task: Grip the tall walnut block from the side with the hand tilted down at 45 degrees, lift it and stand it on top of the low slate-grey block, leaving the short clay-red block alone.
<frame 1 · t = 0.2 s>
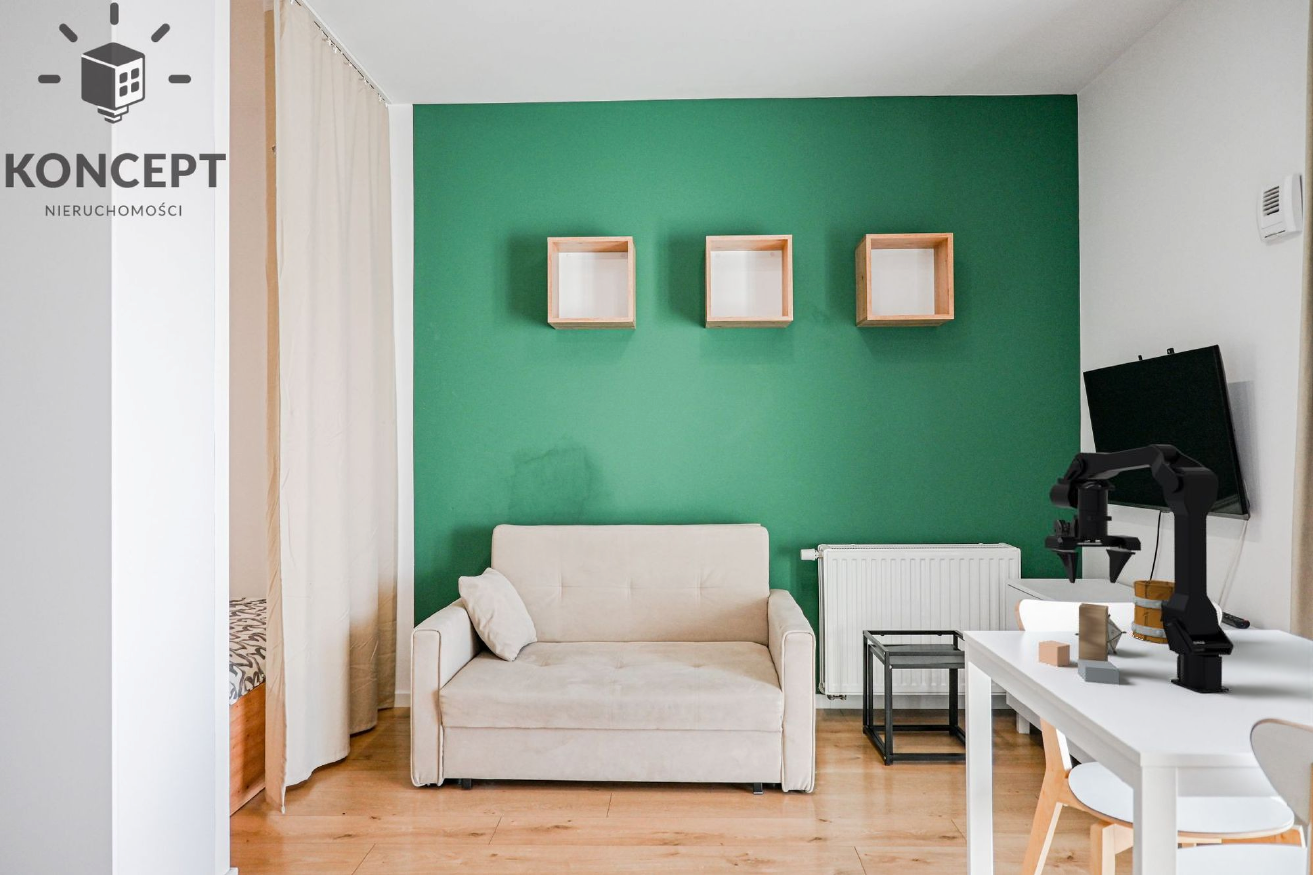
hand: (1092, 582, 170), 14 cm above the table, tool pointing down, fingers open, 9 cm apart
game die: (1100, 653, 167), on the table
walnut block: (1093, 670, 152), on the table
clay block: (1054, 663, 158), on the table
mug: (1169, 640, 180), on the table
slate block: (1097, 680, 147), on the table
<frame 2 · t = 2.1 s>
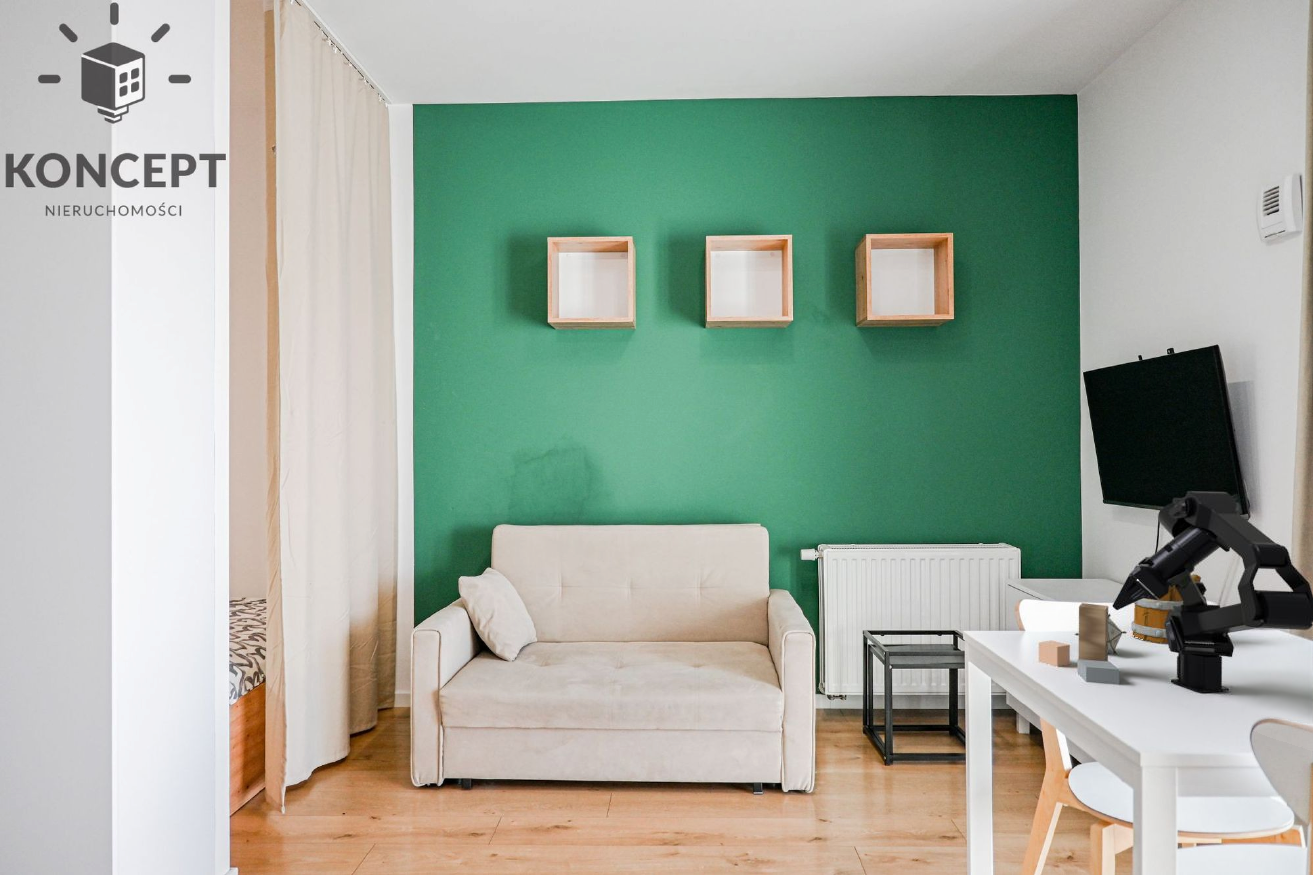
hand: (1116, 604, 151), 13 cm above the table, tool tilted 45°, fingers open, 9 cm apart
nothing on the table moved.
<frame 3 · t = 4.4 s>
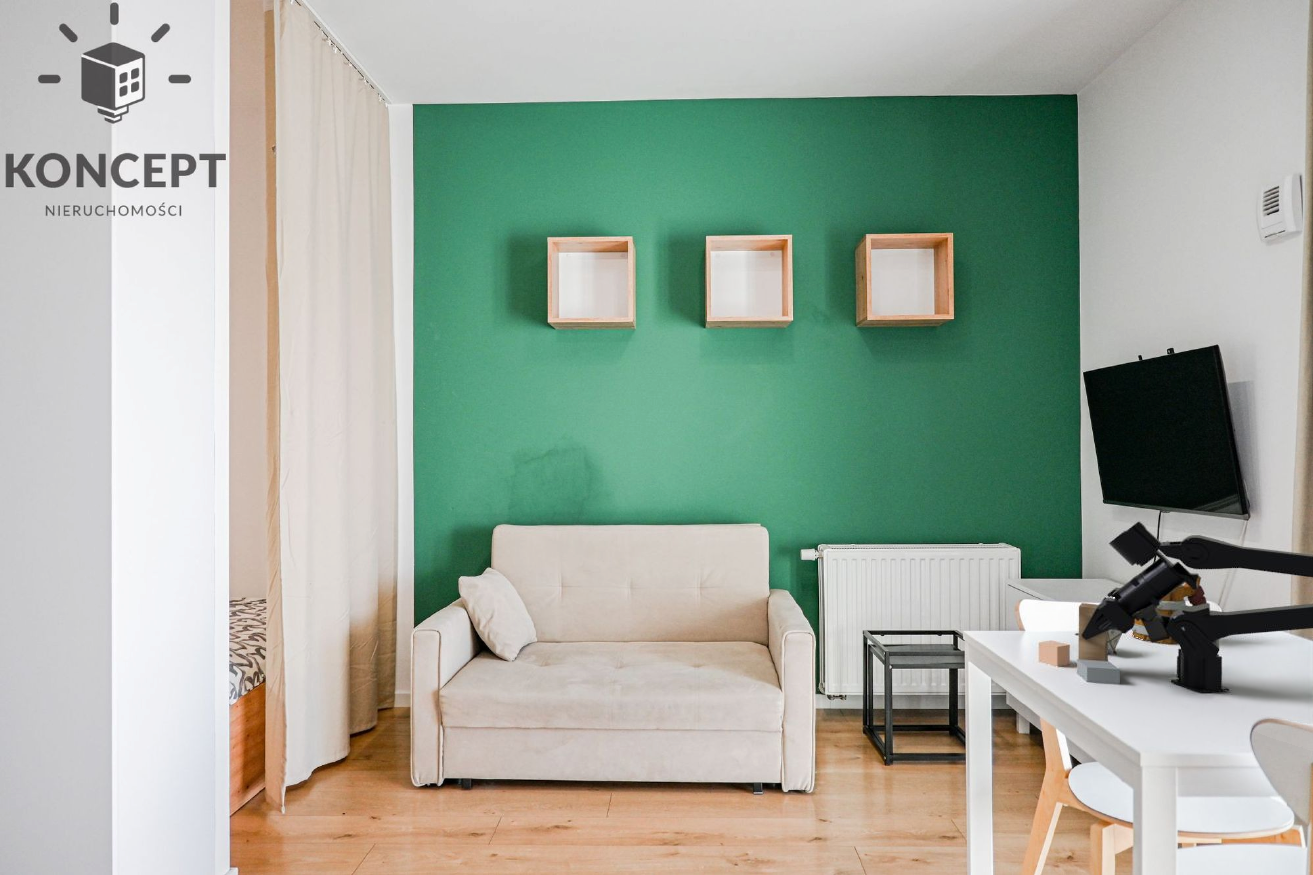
hand: (1085, 635, 153), 7 cm above the table, tool tilted 45°, fingers closed on walnut block, 4 cm apart
walnut block: (1093, 670, 152), on the table, touching gripper
everything else where it was.
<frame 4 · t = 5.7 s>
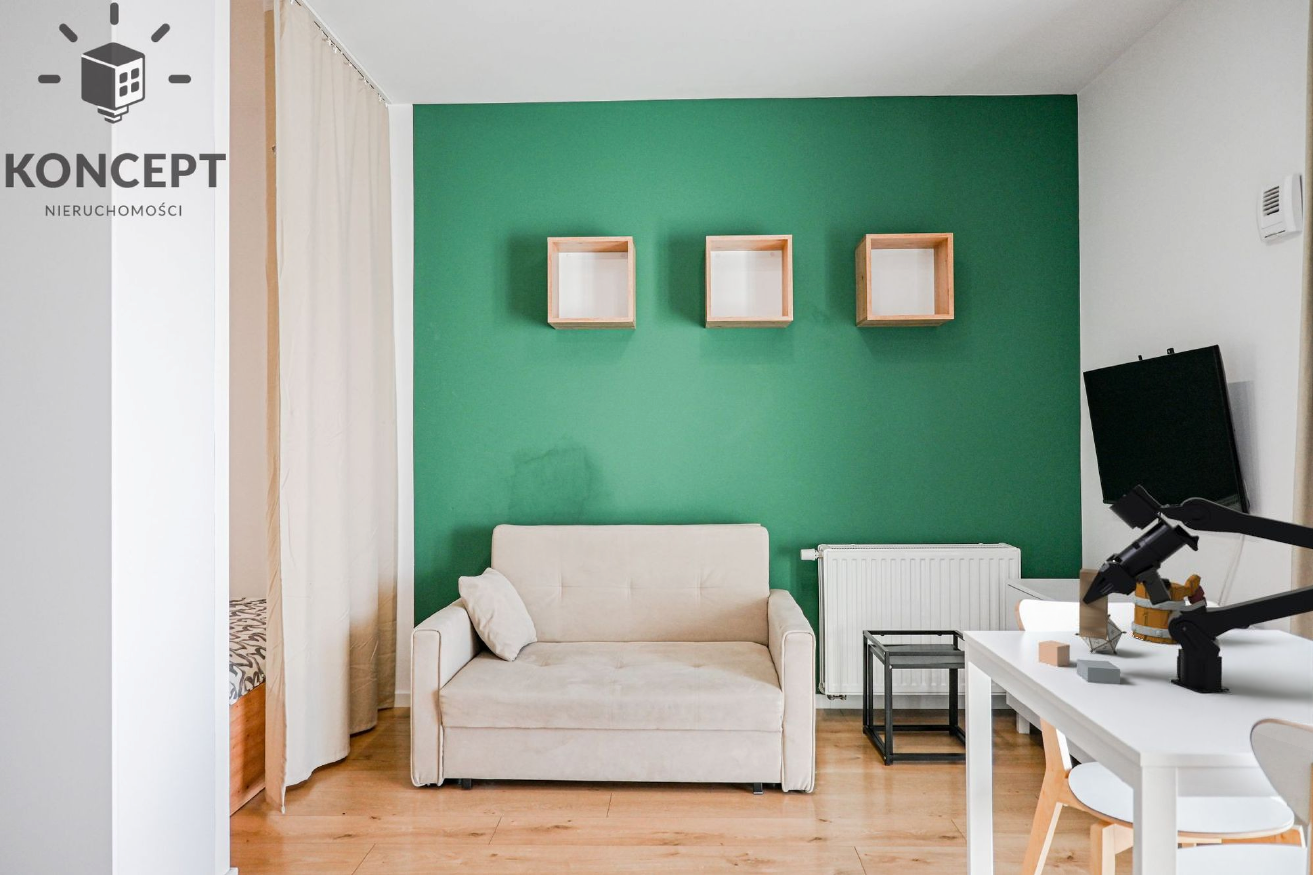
hand: (1085, 600, 153), 13 cm above the table, tool tilted 45°, fingers closed on walnut block, 4 cm apart
walnut block: (1093, 635, 152), point 7 cm above the table, touching gripper
everything else where it was.
when the fingers open (11 cm above the table, at t = 7.1 s): walnut block drops 2 cm, point 3 cm above the table.
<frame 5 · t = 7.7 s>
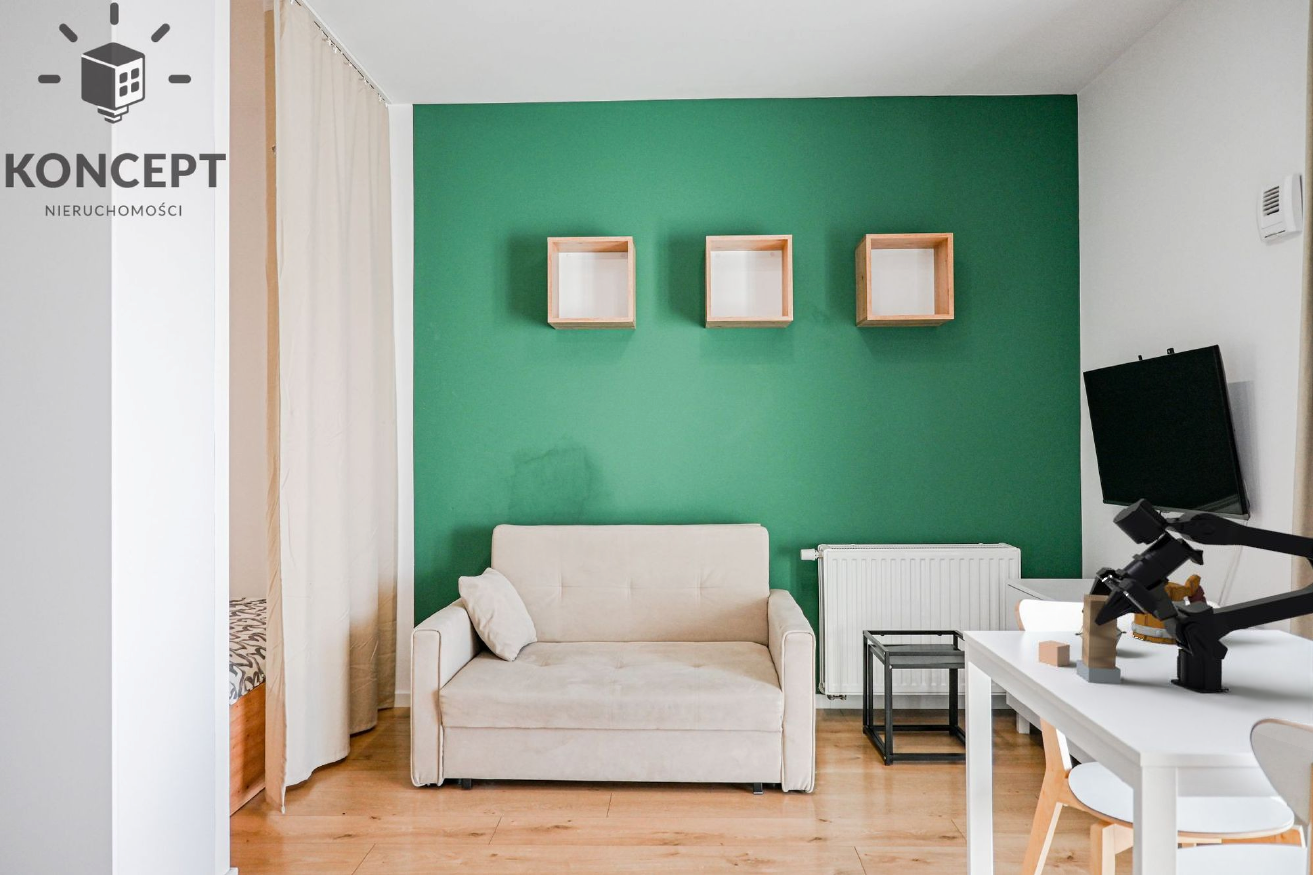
hand: (1089, 618, 148), 11 cm above the table, tool tilted 45°, fingers open, 9 cm apart
walnut block: (1098, 664, 147), point 3 cm above the table
everything else where it was.
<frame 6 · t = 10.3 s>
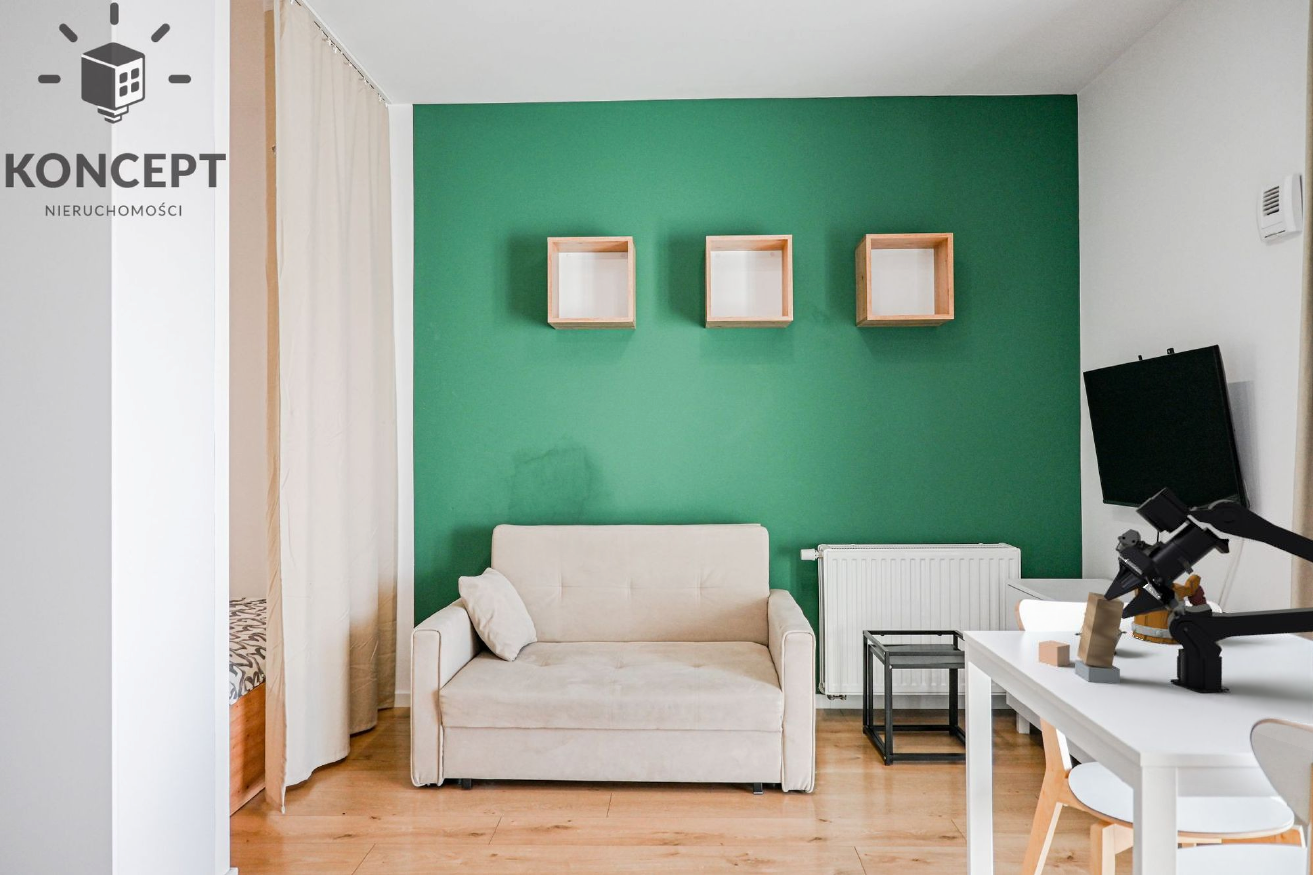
hand: (1113, 608, 147), 13 cm above the table, tool tilted 45°, fingers open, 9 cm apart
walnut block: (1094, 661, 147), point 3 cm above the table, tilted 9°, touching gripper, slate block
slate block: (1096, 680, 147), on the table, touching walnut block
everything else where it was.
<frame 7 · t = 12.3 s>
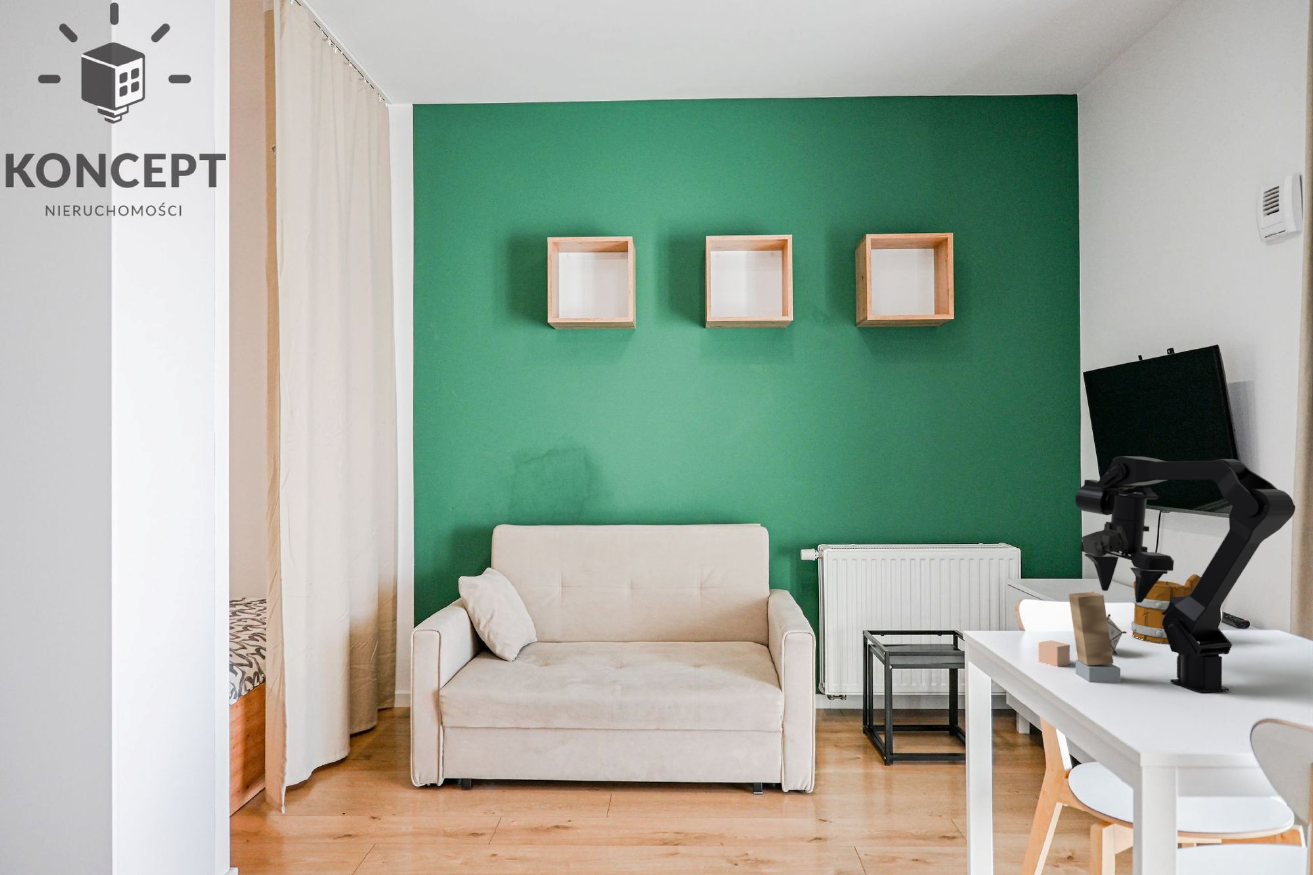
hand: (1121, 596, 158), 14 cm above the table, tool pointing down, fingers open, 9 cm apart
walnut block: (1095, 661, 147), point 3 cm above the table, tilted 8°
slate block: (1097, 680, 147), on the table
everything else where it was.
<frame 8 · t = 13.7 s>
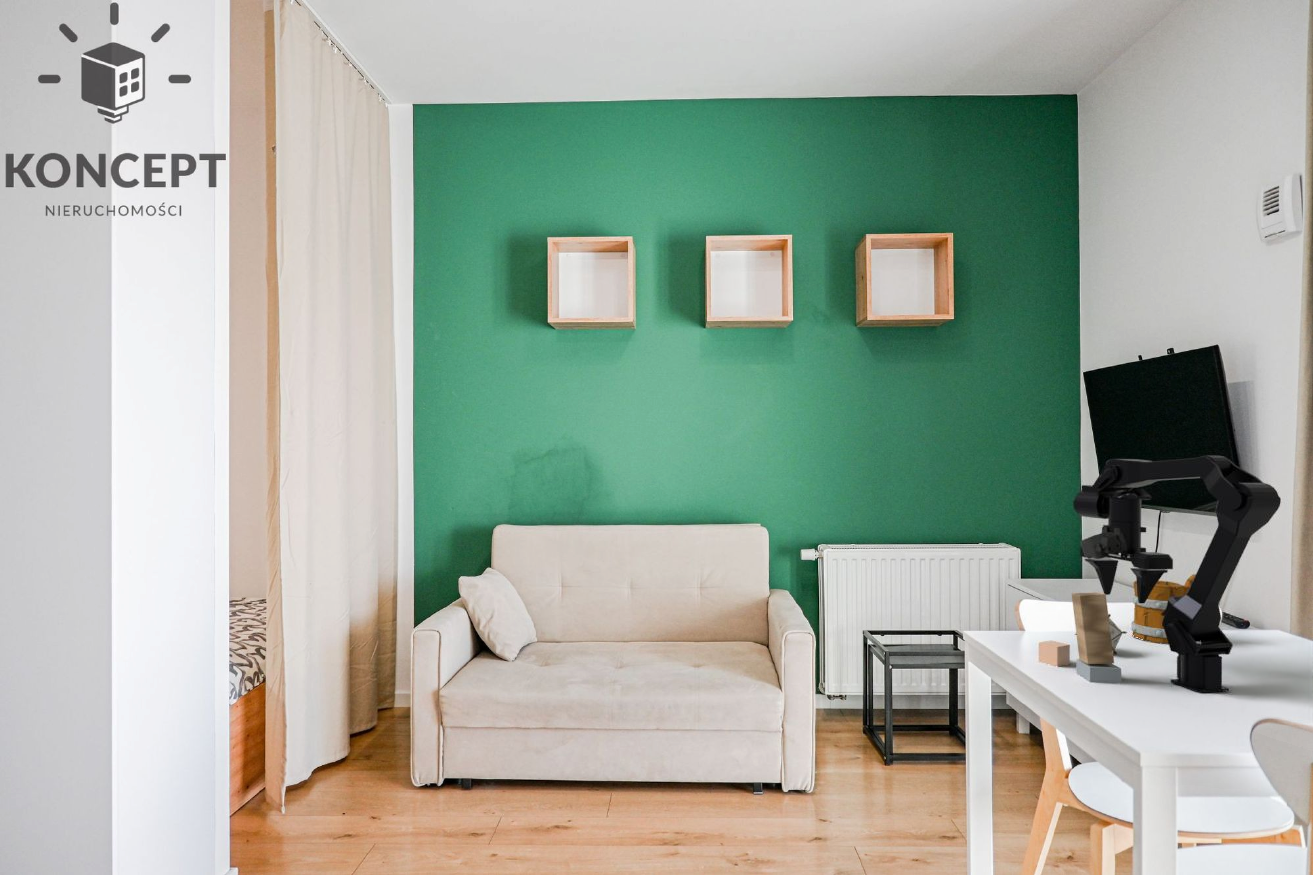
hand: (1123, 598, 158), 13 cm above the table, tool pointing down, fingers open, 9 cm apart
walnut block: (1096, 661, 148), point 3 cm above the table, tilted 7°, touching slate block
slate block: (1098, 679, 147), on the table, touching walnut block
everything else where it was.
at the end: walnut block 0.3 cm off-centre on the slate block, point 3.2 cm above the slate block's base; walnut block tilted 3°; the gripper is holding nothing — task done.
